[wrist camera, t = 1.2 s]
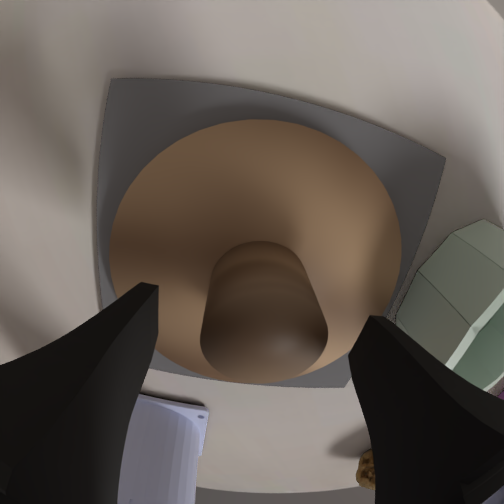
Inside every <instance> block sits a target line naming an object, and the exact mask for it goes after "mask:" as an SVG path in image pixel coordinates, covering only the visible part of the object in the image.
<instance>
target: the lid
mask: <svg viewBox="0 0 504 504" xmlns="http://www.w3.org/2000/svg"><path fill="white" fill-rule="evenodd" d="M109 263H110V271H111V278H112V282H113V286H114V289H115V293H116V295H117V298H120V297H121V296H122V295H124V294H125V293H126V292H127V291H129V290H130V289H132V288H133V287H134V286H136V285H137V284H139V283H140V282H145V283H150V284H155V285H159V308H158V330H159V334H158V337H157V341H156V345H155V349H156V350H157V351H158V352H159V353H161V354H162V355H163V356H165V357H166V358H168V359H169V360H171V361H173V362H174V363H176V364H178V365H180V366H182V367H184V368H186V369H188V370H190V371H192V372H195V373H198V374H200V375H203V376H206V377H210V378H214V379H218V380H223V381H229V382H237V383H256V384H264V383H274V382H279V381H283V380H287V379H291V378H295V377H298V376H302V375H305V374H308V373H310V372H313V371H315V370H317V369H320V368H322V367H324V366H326V365H328V364H329V363H331V362H333V361H335V360H337V359H338V358H340V357H341V356H342V355H344V354H345V353H347V352H348V351H350V350H351V349H352V347H353V345H354V344H355V342H356V340H357V338H358V336H359V334H360V333H361V331H362V329H363V327H364V325H365V323H366V321H367V319H368V317H369V315H375V316H382V314H383V312H384V310H385V309H386V307H387V305H388V303H389V301H390V299H391V296H392V294H393V292H394V289H395V286H396V283H397V279H398V275H399V271H400V263H401V233H400V227H399V221H398V218H397V215H396V212H395V208H394V205H393V203H392V201H391V199H390V197H389V195H388V193H387V191H386V189H385V187H384V185H383V184H382V182H381V181H380V180H379V178H378V177H377V175H376V174H375V173H374V171H373V170H372V169H371V168H370V167H369V166H368V165H367V164H366V163H365V162H364V161H363V160H362V159H361V158H360V157H359V156H358V155H357V154H356V153H355V152H353V151H352V150H350V149H349V148H348V147H346V146H345V145H344V144H342V143H341V142H339V141H337V140H335V139H334V138H332V137H330V136H328V135H326V134H324V133H322V132H320V131H317V130H314V129H311V128H308V127H305V126H302V125H299V124H295V123H290V122H284V121H278V120H258V119H248V120H240V121H233V122H226V123H222V124H218V125H215V126H211V127H208V128H205V129H202V130H199V131H197V132H195V133H193V134H191V135H188V136H186V137H184V138H182V139H180V140H178V141H177V142H175V143H174V144H172V145H171V146H169V147H168V148H166V149H165V150H164V151H162V152H161V153H159V154H158V155H157V156H156V157H155V158H154V159H153V160H152V161H151V162H150V163H149V164H148V165H146V166H145V167H144V168H143V169H142V171H141V172H140V173H139V174H138V176H137V177H136V178H135V180H134V181H133V182H132V184H131V185H130V186H129V188H128V190H127V192H126V193H125V195H124V197H123V199H122V201H121V203H120V205H119V208H118V210H117V213H116V216H115V219H114V222H113V226H112V231H111V237H110V246H109Z"/></svg>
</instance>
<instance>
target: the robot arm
mask: <svg viewBox="0 0 504 504" xmlns="http://www.w3.org/2000/svg"><path fill="white" fill-rule="evenodd" d="M158 308H159V285H155V284H150V283H145V282H140V283H139V284H137V285H136V286H134V287H133V288H132V289H130V290H129V291H127V292H126V293H125V294H124V295H122V296H121V297H120V298H118V299H117V300H116V301H114V302H113V303H112V304H110V305H109V306H107V307H106V308H105V309H103V310H102V311H101V312H99V313H98V314H97V315H95V316H94V317H92V318H91V319H89V320H88V321H86V322H85V323H83V324H82V325H80V326H79V327H77V328H76V329H74V330H73V331H71V332H69V333H68V334H66V335H64V336H62V337H61V338H59V339H57V340H55V341H53V342H52V343H50V344H48V345H46V346H44V347H42V348H40V349H38V350H36V351H33V352H31V353H29V354H27V355H24V356H22V357H20V358H17V359H15V360H13V361H10V362H8V363H5V364H2V365H0V504H195V490H196V476H197V463H198V456H201V455H202V449H203V443H204V438H205V432H206V426H207V421H208V415H209V409H208V408H206V407H204V406H198V405H191V404H185V403H180V402H174V401H169V400H164V399H159V398H155V397H150V396H146V395H142V394H139V393H140V390H141V387H142V384H143V382H144V379H145V376H146V374H147V371H148V368H149V366H150V363H151V360H152V357H153V353H154V349H155V345H156V341H157V337H158V334H159V330H158ZM348 360H349V366H350V371H351V376H352V381H353V384H354V387H355V390H356V393H357V396H358V399H359V402H360V405H361V408H362V412H363V415H364V418H365V421H366V424H367V427H368V431H369V435H370V440H371V446H372V453H373V460H374V471H375V504H504V400H503V399H500V398H498V397H496V396H494V395H492V394H490V393H488V392H486V391H484V390H482V389H480V388H478V387H477V386H475V385H473V384H472V383H470V382H468V381H467V380H465V379H464V378H462V377H461V376H459V375H458V374H456V373H455V372H453V371H452V370H451V369H449V368H448V367H447V366H445V365H444V364H443V363H442V362H440V361H439V360H438V359H436V358H435V357H434V356H433V355H431V354H430V353H429V352H428V351H427V350H425V349H424V348H423V347H422V346H421V345H419V344H418V343H417V342H416V341H415V340H413V339H412V338H411V337H410V336H409V335H407V334H406V333H405V332H404V331H403V330H401V329H400V328H399V327H398V326H396V325H395V324H394V323H392V322H391V321H390V320H388V319H387V318H385V317H383V316H375V315H369V317H368V319H367V321H366V323H365V325H364V327H363V329H362V331H361V333H360V334H359V336H358V338H357V340H356V342H355V344H354V345H353V347H352V349H351V351H350V353H349V354H348Z"/></svg>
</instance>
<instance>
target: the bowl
mask: <svg viewBox="0 0 504 504" xmlns="http://www.w3.org/2000/svg"><path fill="white" fill-rule="evenodd" d="M396 326H398V327H399V328H400V329H401V330H403V331H404V332H405V333H406V334H407V335H409V336H410V337H411V338H412V339H413V340H415V341H416V342H417V343H418V344H419V345H421V346H422V347H423V348H424V349H425V350H427V351H428V352H429V353H430V354H431V355H433V356H434V357H435V358H436V359H438V360H439V361H440V362H442V363H443V364H444V365H445V366H447V367H448V368H449V369H451V370H452V371H453V372H455V373H456V374H458V375H459V376H461V377H462V378H464V379H465V380H467V381H468V382H470V383H472V384H473V385H475V386H477V387H478V388H480V389H482V390H484V391H487V390H489V389H490V388H492V387H493V386H494V385H495V384H496V383H497V382H498V381H499V380H500V379H501V378H502V377H503V376H504V230H503V229H502V228H500V227H498V226H496V225H494V224H492V223H490V222H488V221H487V220H485V219H482V220H480V221H478V222H475V223H473V224H471V225H469V226H466V227H464V228H461V229H459V230H457V231H454V232H452V233H451V234H450V235H449V236H448V238H447V239H446V240H445V241H444V242H443V243H442V244H441V246H440V247H439V248H438V249H437V250H436V251H435V252H434V253H433V254H432V256H431V257H430V258H429V259H428V260H427V261H426V262H425V263H424V264H423V265H422V266H421V267H420V268H419V269H418V271H417V273H416V275H415V277H414V279H413V282H412V284H411V286H410V288H409V290H408V292H407V294H406V296H405V298H404V300H403V302H402V304H401V306H400V308H399V310H398V312H397V314H396Z"/></svg>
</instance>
